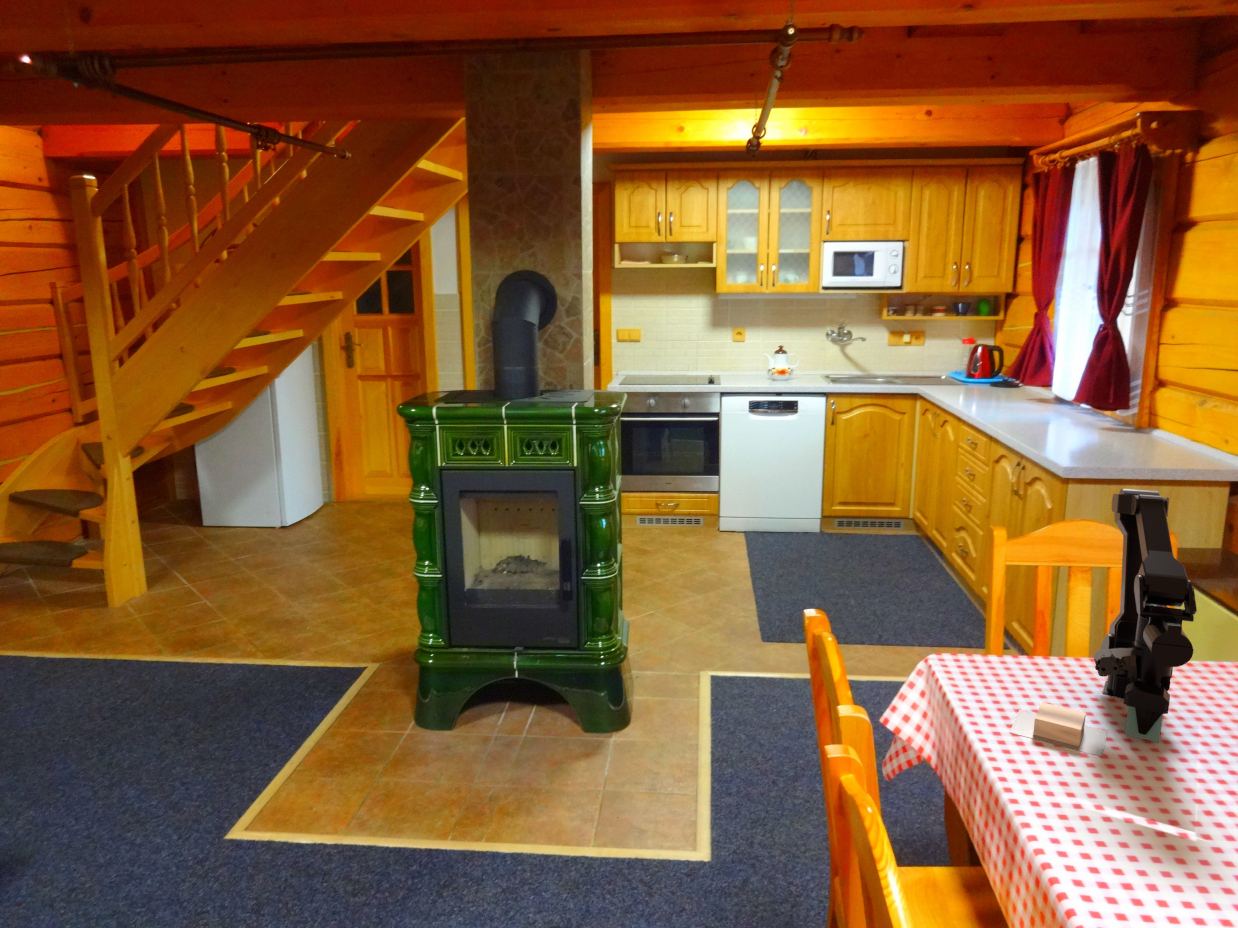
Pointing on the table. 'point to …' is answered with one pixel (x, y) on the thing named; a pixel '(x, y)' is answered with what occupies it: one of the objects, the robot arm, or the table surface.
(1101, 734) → the baseplate
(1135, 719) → the teal block
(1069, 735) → the maple base block
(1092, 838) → the table surface
